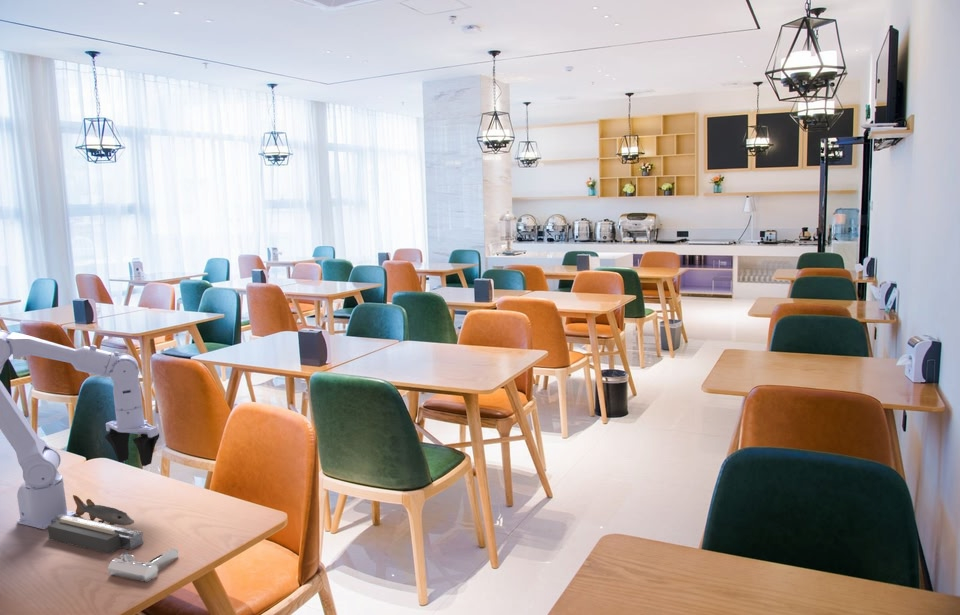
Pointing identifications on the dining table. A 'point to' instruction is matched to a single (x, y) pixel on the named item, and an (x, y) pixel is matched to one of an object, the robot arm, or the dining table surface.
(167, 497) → the dining table surface
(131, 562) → the silver l-shaped piece
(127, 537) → the rail
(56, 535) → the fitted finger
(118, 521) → the fish
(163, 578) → the dining table surface
